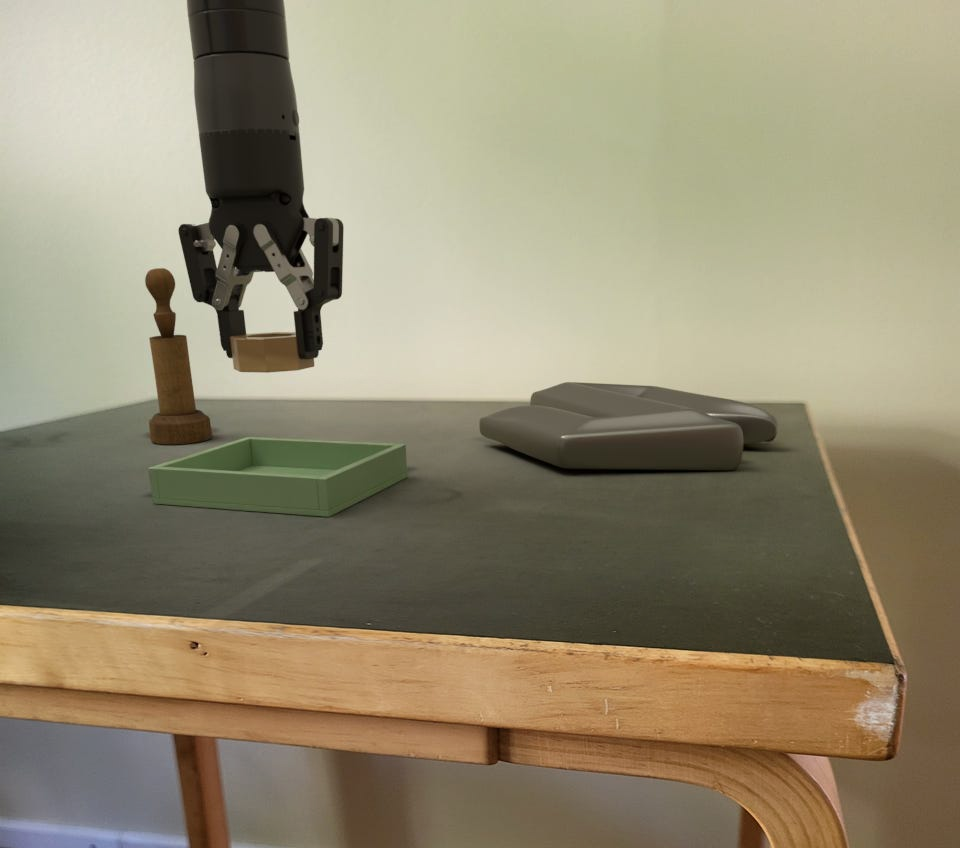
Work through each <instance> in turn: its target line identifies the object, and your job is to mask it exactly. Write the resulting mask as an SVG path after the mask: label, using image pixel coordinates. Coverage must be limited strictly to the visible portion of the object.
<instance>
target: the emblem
mask: <svg viewBox="0 0 960 848" xmlns="http://www.w3.org/2000/svg"><path fill="white" fill-rule="evenodd" d="M478 424H479V433H480V435H481V436H483V437H485V438H487V439H488V440H493V441H494V442H495V441H496V442H498V443H500V444H502V445H504V446H506V447H508V448H510V449H512V450H514V451H516V452H518V453H521V454H524V455H527V456H529V457H531V458H534V459H537V460H540V461H542V462H545V463H547V464H550V465H553V466H556V467H558V468H562V469H567V470H628V471H629V470H635V471H636V470H639V471H640V470H643V471H717V472H718V471H724V472H725V471H734V470H736V469H738V467H739V466H740V464H741V461H742V459H743V455H744V453H743V452H744V445H747V444H749V445H750V444H758V443H759V444H760V443H763V442H764V443H770V442H773V441H774V440H775V439H776V437H777V434H778V427H779V426H778V421H777V418H776V416H774V414H772V413H770V412H768V411H766V410H764V409H762V408H761V407H758V406H756V405H753V404H750V403H746V402H743V401H739V400H735V399H730V398H726V397H725V398H724V397H718V396H712V395H708V394H707V395H706V394H701V393H695V392H690V391H685V390H684V391H683V390H678V389H673V388H668V387H663V386H655V385H641V384H639V385H638V384H618V383H600V382H599V383H595V382H577V381H565V382H562V383H559V384H556V385H552V386H550V387H547V388H544V389H541V390H538V391H534V392H533V393H531V395H530V399H529V405H517V406H512V407H508V408H505V409H501V410H498V411H494V412H492V413H490V414H487V415H484V416H482V417H481V418H479V423H478Z"/></svg>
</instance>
